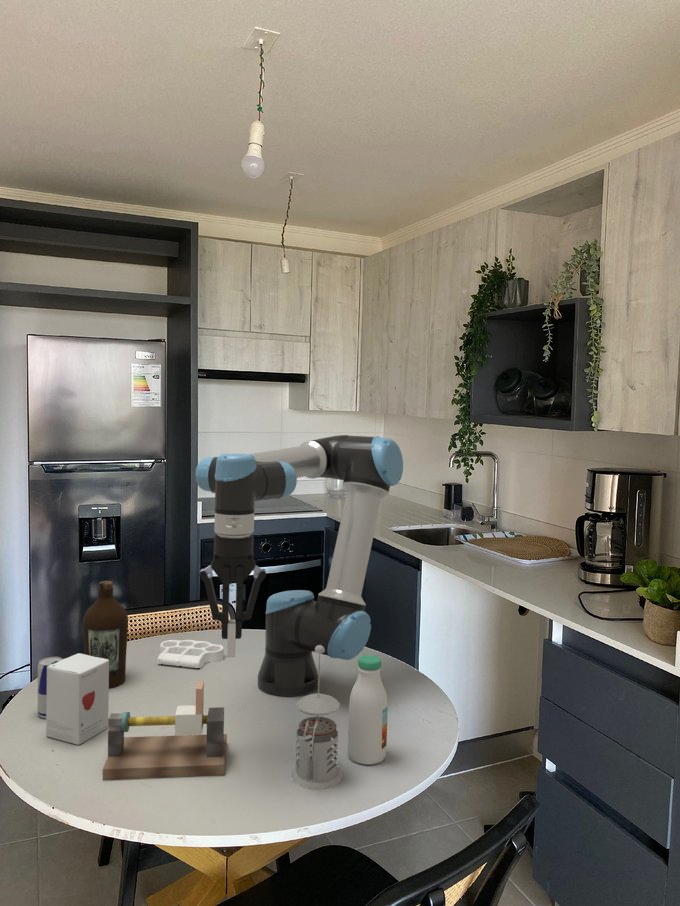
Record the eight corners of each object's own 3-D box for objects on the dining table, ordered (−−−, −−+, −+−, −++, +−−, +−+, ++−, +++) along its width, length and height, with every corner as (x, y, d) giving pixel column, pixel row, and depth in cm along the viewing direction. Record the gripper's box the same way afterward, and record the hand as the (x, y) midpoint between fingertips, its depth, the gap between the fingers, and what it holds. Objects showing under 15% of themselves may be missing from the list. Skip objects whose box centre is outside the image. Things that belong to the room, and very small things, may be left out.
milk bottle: (374, 770, 131) (377, 668, 129) (340, 758, 135) (343, 659, 134) (392, 753, 137) (396, 656, 136) (359, 742, 141) (362, 648, 140)
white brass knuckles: (146, 666, 180) (170, 647, 195) (209, 673, 177) (230, 653, 191) (146, 653, 180) (170, 635, 194) (210, 660, 176) (230, 641, 191)
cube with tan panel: (203, 724, 135) (203, 680, 134) (201, 734, 131) (202, 688, 130) (177, 725, 134) (177, 681, 133) (175, 735, 130) (175, 689, 129)
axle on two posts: (226, 743, 140) (227, 696, 139) (223, 774, 128) (224, 724, 127) (115, 747, 137) (116, 699, 136) (102, 779, 125) (102, 728, 124)
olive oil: (85, 674, 172) (85, 577, 171) (129, 672, 175) (129, 576, 173) (79, 692, 162) (79, 588, 160) (126, 689, 164) (126, 587, 163)
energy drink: (54, 720, 147) (54, 666, 146) (32, 717, 148) (32, 664, 148) (69, 710, 153) (69, 657, 152) (47, 707, 154) (47, 655, 153)
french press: (347, 765, 132) (351, 639, 131) (333, 798, 121) (337, 661, 119) (298, 758, 135) (301, 634, 133) (280, 789, 123) (283, 655, 122)
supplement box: (78, 746, 137) (78, 673, 136) (44, 737, 140) (44, 666, 139) (110, 727, 145) (110, 658, 144) (77, 719, 148) (77, 651, 147)
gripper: (197, 537, 126) (195, 662, 128) (268, 538, 128) (265, 661, 129) (201, 530, 134) (198, 648, 135) (267, 531, 135) (264, 647, 137)
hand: (231, 654), depth 132 cm, fingers closed
